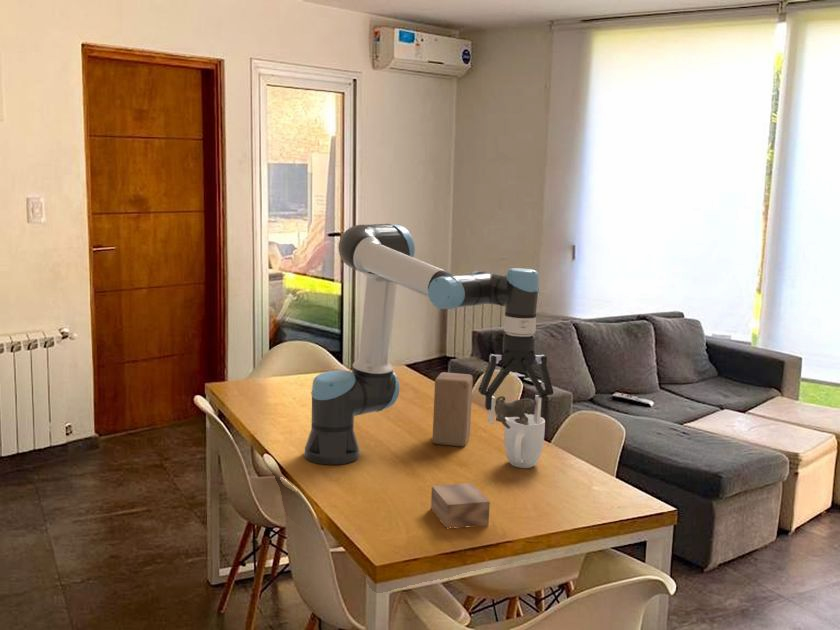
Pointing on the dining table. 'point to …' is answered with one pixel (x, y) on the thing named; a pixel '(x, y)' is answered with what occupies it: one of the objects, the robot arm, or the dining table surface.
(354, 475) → the dining table surface
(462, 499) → the walnut block
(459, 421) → the wooden block
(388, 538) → the dining table surface
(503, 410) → the grey animal figure
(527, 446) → the mug
